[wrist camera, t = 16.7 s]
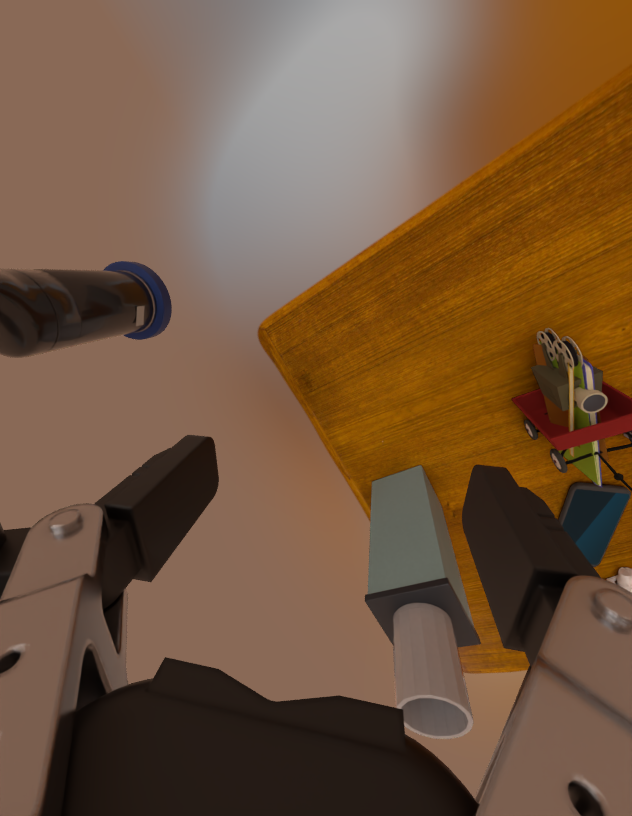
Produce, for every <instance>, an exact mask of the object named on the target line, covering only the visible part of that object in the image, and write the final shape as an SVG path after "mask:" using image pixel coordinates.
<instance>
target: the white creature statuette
mask: <svg viewBox="0 0 632 816" xmlns="http://www.w3.org/2000/svg"><path fill="white" fill-rule="evenodd" d="M616 580H617V583H615V582H614V581H616ZM607 581H610V582H612V583H614V584H617V585H619V586H621V587H623V588H624V589H626V590H628V591H630V592H631V593H632V569H630V568H627V567H626V568H623V567H621V568H620V569H619V571H618V575H616V576H613V577H610V578H607Z"/></svg>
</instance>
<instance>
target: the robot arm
mask: <svg viewBox="0 0 632 816" xmlns="http://www.w3.org/2000/svg"><path fill="white" fill-rule="evenodd" d="M156 313H157V305H156V300H155V296H154V294H153V292H152V290H151V288H150V287H149V285H148V284H147V283H146V282H145V280H144V279H142V278H141V277H140V276H139V275H137V274H135V273H133V272H130V271H125V270H117V271H98V270H97V271H96V270H49V269H0V354H1V355H4V356H7V357H15V358H23V357H29V356H34V355H38V354H43V353H47V352H51V351H56V350H60V349H64V348H68V347H73V346H77V345H81V344H86V343H90V342H94V341H99V340H103V339H107V338H112V337H116V336H121V335H125V334H130V333H136V332H141V331H144V330H146V329H148V328H149V327H150V326H151V325H152V324H153V322H154V320H155V318H156ZM218 482H219V477H218V469H217V460H216V451H215V444H214V440H213V439H212V438H211V437H204V436H195V435H187V436H185V437H184V438H183V439H181V440H180V441H179V442H178V443H177V444H175V445H174V446H173V447H172V448H169V449H167V450H165V451H163V452H161V453H159V454H156V455H154V456H153V457H152V458H150V459H149V460H148V461H147V462H145V464H143V465H142V467H139V468H138V469H137V470H136V471H134V472H133V473H132V476H131V475H130V476H128V477H127V478H126V479H124V480H123V481H122V482H121V483H120V484H118V485H117V486H116V487H115V488H113V489H112V490H111V491H110V492H108V493H107V494H106V495H105V496H103V497H102V498H101V499H100V500H98V501H97V502H96V503H95V504H76V505H72V506H68V507H65V508H62V509H59V510H57V511H55V512H53V513H51V514H49V515H47V516H45V517H44V518H42V519H41V520H39V521H38V522H37V523H36V524H35V525H34V526H33V527H32V528H21V529H12V530H3V528H2V526H1V524H0V816H632V593H631V592H630V591H628V590H626V589H624V588H623V587H621V586H619V585H617V584H614V583H612V582H610V581H607V580H604V579H601V577H600V576H599V575H598V573H597V572H596V571H595V569H594V568H593V567H592V565H591V564H590V563H589V561H588V560H587V559H586V557H585V556H584V555H583V553H582V552H581V550H580V549H579V548H578V546H577V545H576V544H575V542H574V541H573V540H572V538H571V537H570V536H569V534H568V533H567V532H566V531H564V528H563V526H562V525H561V524H560V522H559V521H558V520H557V519H556V518H554V514H553V513H552V511H551V510H550V509H549V507H548V506H547V505H546V503H545V502H544V501H543V500H542V499H540V498H539V497H538V496H536V495H535V494H534V493H533V492H531V491H530V490H529V489H527V488H524V487H519V486H518V485H517V483H516V482H515V480H514V479H513V477H512V476H511V474H510V473H509V471H508V470H507V469H506V468H504V467H494V466H484V465H475V466H474V468H473V470H472V473H471V477H470V481H469V485H468V489H467V494H466V498H465V502H464V506H463V512H462V523H463V529H464V533H465V535H466V538H467V541H468V544H469V547H470V550H471V553H472V556H473V559H474V562H475V565H476V568H477V570H478V573H479V576H480V579H481V582H482V585H483V588H484V591H485V594H486V597H487V600H488V602H489V605H490V608H491V611H492V614H493V617H494V620H495V623H496V626H497V629H498V632H499V635H500V637H501V640H502V643H503V646H504V648H507V649H512V650H518V651H523V652H525V653H526V656H527V658H528V661H529V663H530V666H529V668H528V670H527V673H526V675H525V678H524V680H523V683H522V685H521V687H520V690H519V692H518V695H517V697H516V700H515V702H514V704H513V707H512V710H511V712H510V714H509V717H508V719H507V722H506V724H505V726H504V729H503V731H502V734H501V736H500V739H499V741H498V744H497V746H496V748H495V751H494V754H493V756H492V758H491V761H490V763H489V765H488V767H487V770H486V772H485V775H484V777H483V779H482V781H481V784H480V786H479V789H478V791H477V794H476V796H475V798H473V796H472V795H471V794H470V792H469V791H468V790H467V788H466V787H465V786H464V785H463V784H462V783H461V781H460V780H459V779H458V778H457V777H456V776H455V775H454V774H453V772H452V771H451V770H450V769H449V768H448V767H447V766H446V765H445V764H444V763H443V762H442V761H440V760H439V759H438V758H437V757H436V756H435V755H434V754H433V753H432V752H430V751H429V750H428V749H426V748H425V747H424V746H422V745H421V744H420V743H418V742H417V741H416V740H414V739H412V738H410V737H409V736H407V735H405V731H404V714H403V709H398V708H394V707H389V706H384V705H380V704H375V703H371V702H366V701H361V700H357V699H353V698H347V697H343V696H331V697H320V698H310V699H300V700H290V701H280V702H275V701H270V700H268V699H266V698H264V697H263V696H261V695H259V694H258V693H256V692H255V691H253V690H252V689H250V688H248V687H247V686H245V685H243V684H242V683H240V682H239V681H237V680H235V679H234V678H232V677H231V676H228V675H227V674H225V673H224V672H222V671H221V670H219V669H216V668H211V667H207V666H202V665H197V664H193V663H188V662H184V661H179V660H175V659H170V658H166V657H165V659H164V660H163V662H162V664H161V666H160V667H159V669H158V671H157V673H156V675H155V676H154V678H153V679H147V680H143V681H139V682H135V683H131V684H129V685H128V681H127V673H126V644H127V643H126V642H127V606H128V605H127V604H128V594H127V590H126V587H127V586H128V584H129V583H130V582H131V581H132V579H136V580H142V581H148V582H151V581H152V580H153V579H154V577H155V576H156V575H157V573H158V572H159V571H160V569H161V568H162V567H163V565H164V564H165V563H166V561H167V560H168V558H169V557H170V556H171V554H172V553H173V552H174V550H175V549H176V547H177V546H178V545H179V544H180V542H181V541H182V539H183V538H184V537H185V535H186V534H187V533H188V531H189V530H190V529H191V527H192V526H193V525H194V523H195V522H196V520H197V519H198V517H199V516H200V515H201V514H202V512H203V511H204V510H205V508H206V507H207V505H208V504H209V503H210V501H211V500H212V499H213V497H214V496H215V494H216V491H217V488H218Z"/></svg>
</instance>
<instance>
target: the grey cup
mask: <svg viewBox="0 0 632 816" xmlns="http://www.w3.org/2000/svg"><path fill="white" fill-rule="evenodd" d="M393 648H394V649H393V651H394V678H395V706H396V708H398V709H403V714H404V726H406V727H407V728H408V729H409V730H411V731H413V732H415V733H418V734H420V735H423V736H427V737H431V738H436V739H452V738H457V737H461V736H463V735H465V734H466V733H467V732H469V731H470V730H471V728H472V725H473V717H472V712H471V707H470V703H469V698H468V693H467V688H466V684H465V679H464V674H463V669H462V665H461V660H460V655H459V650H458V646H457V641H456V636H455V631H454V628H453V624H452V620H451V618H450V617H449V615H448V614H447V613H446V612H445V611H444V610H442V609H441V608H439V607H437V606H434V605H431V604H427V603H410V604H406V605H404V606H402V607H400V608H399V609H398V610H397V611H396V612H395V613H394V616H393Z"/></svg>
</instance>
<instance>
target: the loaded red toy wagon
mask: <svg viewBox="0 0 632 816" xmlns="http://www.w3.org/2000/svg"><path fill="white" fill-rule="evenodd" d="M548 330H551V332H552V334H551V333H549V332H548ZM540 333H543V334H541V335H540ZM538 337H539V338H540V340H541V341H540V342H539V339H538ZM556 337H557V339H558V340H556V339H555V338H556ZM565 338H568V339H569V340H570V342H571V344H570V343H569V342H568V341H566V340H565ZM537 341H538V344H534V345H533V350H534V355H535V360H536V364H537V365H536V366H533V367H531V369H532V371H533V373H534V376H535V378H536V380H537V382H538V385H539V387H540V389H537V390H534V391H532V392H529V393H526V394H523V395H520V396H517V397H514V398H512V401H513V402H514V403H515V404H516V405H517V406H518V408H519V409H520V410H521V411H522V412H523V413H524V414H525V416H526V417H527V418H528V419H529V420H528V419H527V420H525V421H524V424H525V428H526V430H527V432H528V434H529V435H530V437H531V438H532V439H534V440H536V439H537V438H538V434H537V432H541V433H542V434H543V435H544V436H545V437H546V438H547V439H548V441H549V442H550V443H551V444H552V445H553V446H554V447H555V448H556V449H557V450H556V449H551V450H550V455H551V458H552V460H553V462H554V464H555V466H556V467H557V469H558V470H559V471H560V472H562V473H566V472H567V464H571V463H572V464H574V465H575V466H576V467H577V468H578V469H579V470H581V471H582V472H583V473H584V474H585V475H586V476H588V477H589V478H590V479H591V480H592V481H593V482H594V484H596V485H598V486H600V487H602V479H601V466H600V458H601V459H602V460H603V462H604V463H605V464H606V465H607V466H608V467H609V469H610V470H611V471H612V472H613V473H614V474H615V475H614V478H615V479H616V480H621V481H622V482H623V483H624V484H625V485H626V486H627V487H628V488H629V489H630V490H631V491H632V488H631V487H630V486H629V485H628V484H627V483H626V482H625V481H624V480H623V475H622V474H619V473H616V472H615V470H614V469H613V468H612V467H611V466H610V465H609V464H608V463H607V462H606V461H609V459H608V454H607V452H610V451H615V450H620V449H625V448H629V447H632V398H630V397H629V396H627V395H625V394H624V393H622V392H620V391H618V390H617V389H615V388H613V387H612V386H610V385H608V384H607V383H605V382H603V381H602V377H603V371H601V370H599V369H597V368H595V367H593V366H592V365H591V364H590V363H589V361H588V359H587V358H585V357H584V356H582V354H581V352H580V350H579V348H578V346H577V344H576V343H575V342H574V341H573V340H572V339H571V338H570V337H568V336H565V337H563V338H562V340H561V341H560V339H559V338H558V336H557V334H556V333H555V332H554V331H553V330H552V329H550V328H546V329H545V331H544V332H542V331H539V332H538V333H537ZM557 341H558V342H559V343H558V342H557ZM575 346H576V348H577V349H578V351H579V354H580V355H577V350H575V349H574V348H575ZM532 423H533V424H532ZM535 426H536V427H537V429H538V430H536V429H535ZM621 433H624V434H627V435H628V437H629V439H630V441H631V444H628V445H623V446H618V447H613V448H608V449H607V448H606V443H605V438H607V437H611V436H614V435H618V434H621ZM559 452H560V453H561V454H560V453H559ZM563 456H564V457H565V458H567V459H568V460H569V461H566V462H565V460H564V459H563Z"/></svg>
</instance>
